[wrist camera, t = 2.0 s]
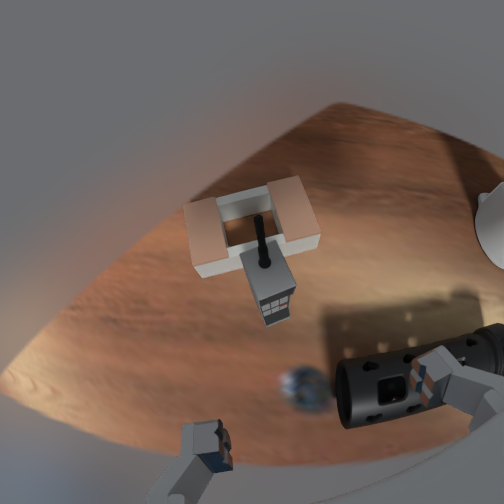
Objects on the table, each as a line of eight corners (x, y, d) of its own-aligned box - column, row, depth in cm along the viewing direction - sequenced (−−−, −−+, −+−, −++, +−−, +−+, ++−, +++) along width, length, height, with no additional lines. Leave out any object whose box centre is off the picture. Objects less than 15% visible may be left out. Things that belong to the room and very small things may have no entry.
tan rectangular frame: (297, 195, 49) (298, 175, 44) (316, 248, 45) (321, 231, 40) (192, 222, 49) (182, 205, 44) (202, 278, 45) (192, 265, 40)
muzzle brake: (331, 359, 39) (348, 355, 29) (484, 327, 37) (521, 313, 27) (336, 423, 35) (353, 438, 25) (489, 381, 33) (528, 377, 24)
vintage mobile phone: (266, 328, 41) (248, 269, 18) (253, 296, 43) (222, 205, 20) (291, 318, 41) (304, 247, 18) (277, 287, 43) (273, 186, 20)
